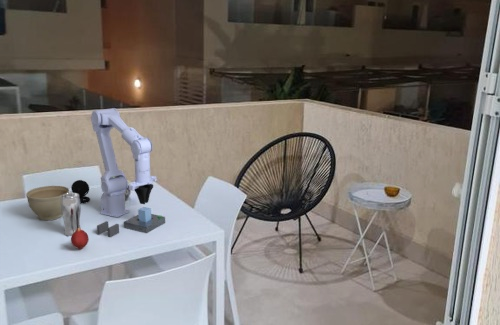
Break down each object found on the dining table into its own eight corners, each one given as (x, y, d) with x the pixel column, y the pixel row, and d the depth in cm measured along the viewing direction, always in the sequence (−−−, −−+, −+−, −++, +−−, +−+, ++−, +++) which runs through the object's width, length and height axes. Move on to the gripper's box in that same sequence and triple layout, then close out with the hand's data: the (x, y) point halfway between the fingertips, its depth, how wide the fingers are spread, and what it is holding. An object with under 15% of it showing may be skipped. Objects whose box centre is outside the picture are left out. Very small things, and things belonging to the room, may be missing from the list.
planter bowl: (19, 220, 191) (16, 194, 188) (50, 207, 205) (47, 183, 203) (50, 226, 185) (48, 200, 182) (79, 213, 200) (77, 188, 197)
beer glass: (86, 231, 181) (83, 193, 178) (74, 237, 175) (71, 199, 171) (71, 228, 184) (68, 191, 180) (59, 235, 177) (55, 197, 173)
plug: (138, 226, 187) (138, 209, 185) (144, 223, 190) (144, 206, 188) (145, 227, 185) (145, 211, 184) (151, 224, 188) (150, 208, 187)
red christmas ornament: (74, 245, 169) (72, 224, 167) (91, 245, 169) (89, 224, 167) (69, 252, 163) (67, 231, 161) (86, 252, 163) (85, 231, 161)
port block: (123, 227, 185) (123, 220, 184) (143, 218, 195) (143, 210, 195) (146, 233, 180) (146, 225, 179) (165, 222, 191) (165, 215, 190)
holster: (97, 234, 179) (96, 225, 178) (106, 229, 183) (106, 221, 182) (110, 237, 176) (109, 228, 175) (119, 232, 180) (118, 224, 179)
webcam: (92, 198, 218) (90, 177, 215) (87, 204, 210) (86, 182, 208) (75, 198, 217) (73, 177, 215) (70, 204, 210) (68, 182, 208)
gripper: (138, 175, 174) (140, 210, 177) (162, 166, 187) (163, 199, 190) (123, 173, 177) (125, 207, 180) (148, 164, 190) (149, 196, 193)
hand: (144, 203), depth 185 cm, fingers closed
